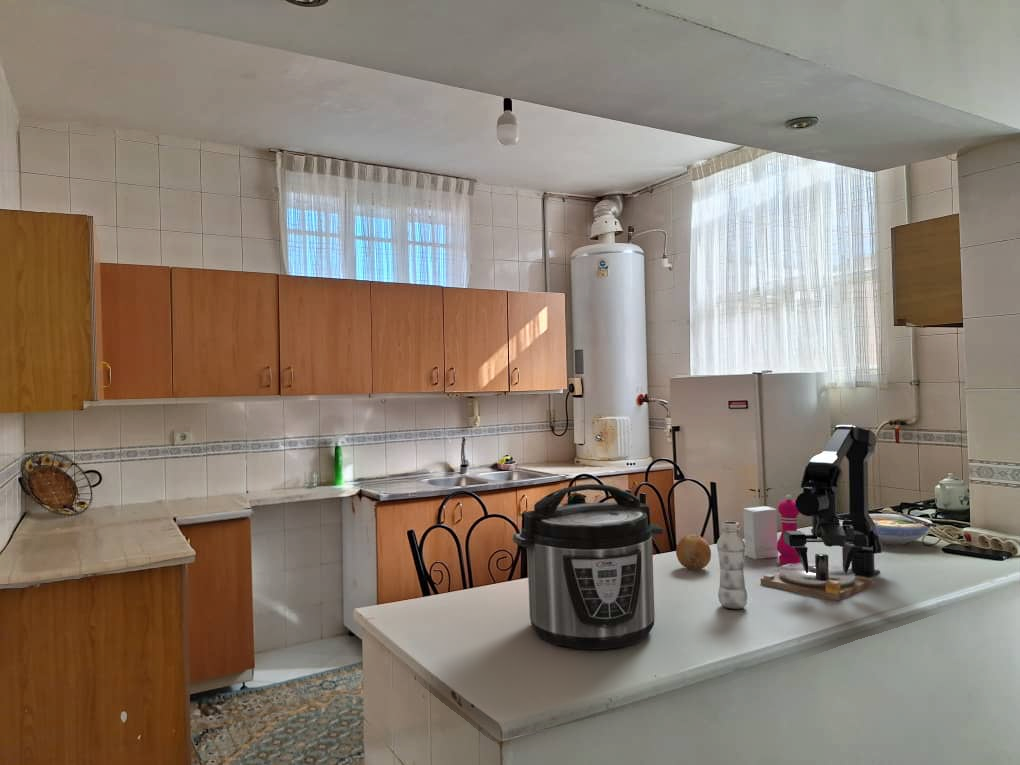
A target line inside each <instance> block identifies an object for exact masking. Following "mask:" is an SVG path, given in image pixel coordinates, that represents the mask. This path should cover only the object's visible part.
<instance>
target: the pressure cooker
mask: <svg viewBox="0 0 1020 765" xmlns="http://www.w3.org/2000/svg"><path fill="white" fill-rule="evenodd" d="M580 491H581V492H583V491H602V492H607V493H608V494H609V495H610V496H611V497H612V498H613V500H614V501H615V502H614V503H613V502H586V498H588V497H587V496H586V494H582V493H579V492H580ZM567 493H571V494H570V495H569V496H568V497H567V500H566V501H567V504H563V505H560V504H561V502H562V501H563V499H565V497H566V495H567ZM523 524H524V525H523V526H524V527H523V528H522V529H521V532H520V533H515V534H513V535H512V541H513V542H514V543H515V544H516V545H517V546H520V547H522V548H523V547H524V548H526V549H527V552H526V554H527V573H528V574H527V576H528V578H527V580H528V600H529V601H528V603H529V604H528V605H529V618H530V624H531V626H532V629H533V630H534V632H535V633H536V634H537V636H538V637H539V638H541V639H542V640H545V641H547V642H549V643H551V644H554V645H557V646H558V645H559V646H561V647H562V646H563V647H566V648H573V649H583V650H605V649H606V650H607V649H614V648H616V649H617V648H620V647H626V646H630V645H632V644H636V643H639V642H641V641H642V640H643V639H645V638H646V637H647V636H648V635H649V634H650V632H651V631H652V629H653V627H654V624H655V620H656V619H655V618H656V615H655V614H656V613H655V593H654V592H655V589H654V585H655V584H654V560H653V536H654V535H663V534H664V529H663V527H662V526H659V525H658V524H653V523H651V513H650V506H648V505H647V504H645V503H643V502H642V503H641V500H640V499H639V497H638V496H636V495H635V494H632V493H631V492H629V491H627V490H625V489H622V488H620V487H616V486H611V485H606V484H598V483H597V484H596V483H592V484H589V483H586V484H578V485H577V484H576V485H573V486H568V487H564V488H561V489H558V490H556V491H553V492H551V493H548V494H546V495H545V496H544V497H543V498H541V499H539V500H538V501H536V502H535V503H534V505H533V510H529V511H528V510H527V511H525V512H524V514H523Z"/></svg>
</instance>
